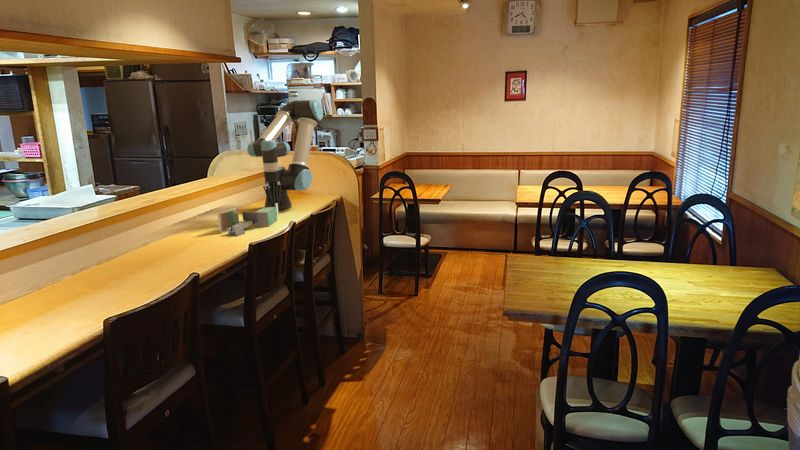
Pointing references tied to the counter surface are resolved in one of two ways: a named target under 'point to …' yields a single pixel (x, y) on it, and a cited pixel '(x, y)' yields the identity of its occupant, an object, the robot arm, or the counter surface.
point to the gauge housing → (229, 222)
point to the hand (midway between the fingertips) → (275, 215)
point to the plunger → (247, 219)
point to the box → (266, 216)
